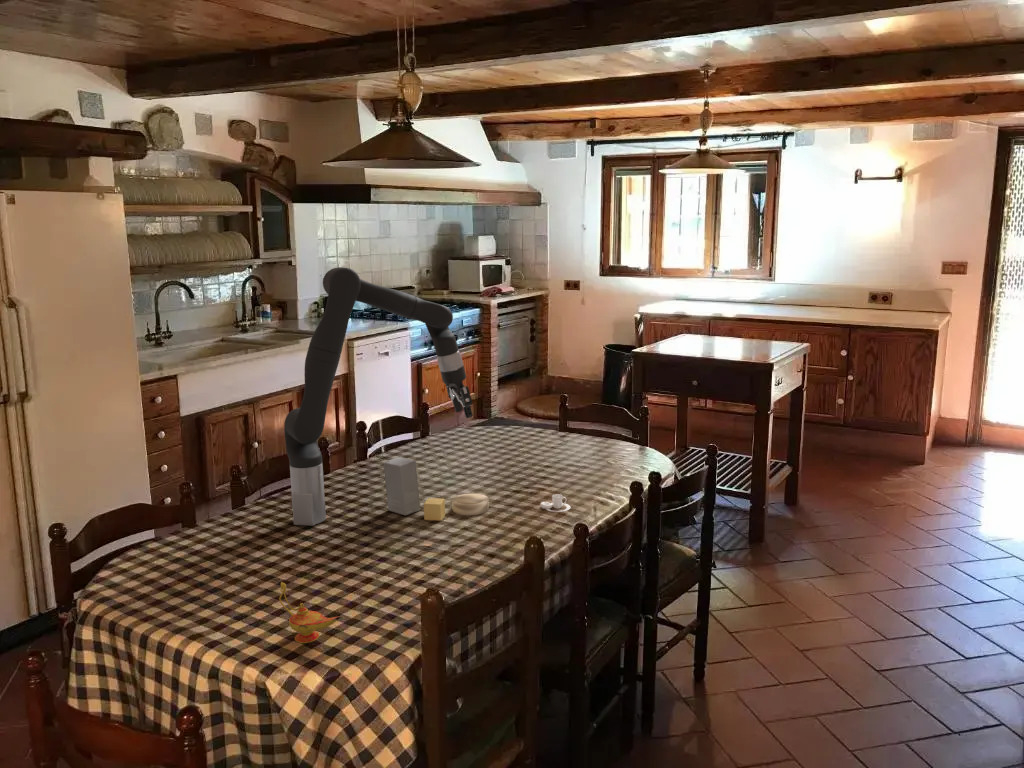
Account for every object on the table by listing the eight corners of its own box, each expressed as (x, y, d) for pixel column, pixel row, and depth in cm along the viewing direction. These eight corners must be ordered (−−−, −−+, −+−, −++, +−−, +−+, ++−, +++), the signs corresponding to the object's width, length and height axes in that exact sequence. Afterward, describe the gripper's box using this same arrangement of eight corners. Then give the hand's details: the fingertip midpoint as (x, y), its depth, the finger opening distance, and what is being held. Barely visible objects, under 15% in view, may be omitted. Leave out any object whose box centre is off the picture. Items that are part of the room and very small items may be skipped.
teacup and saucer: (537, 510, 247) (537, 497, 246) (548, 502, 254) (548, 489, 253) (563, 514, 243) (563, 501, 242) (574, 506, 250) (574, 493, 249)
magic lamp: (334, 657, 165) (330, 606, 163) (269, 635, 174) (266, 587, 172) (356, 641, 171) (353, 592, 168) (293, 622, 180) (289, 575, 177)
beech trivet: (484, 516, 242) (484, 505, 241) (448, 514, 243) (448, 504, 243) (491, 503, 252) (491, 493, 252) (457, 502, 254) (456, 492, 253)
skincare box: (421, 510, 247) (419, 460, 244) (402, 517, 242) (400, 465, 239) (403, 504, 253) (400, 455, 250) (384, 510, 248) (382, 460, 244)
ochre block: (441, 520, 239) (440, 504, 238) (424, 520, 240) (423, 503, 239) (445, 514, 244) (444, 498, 243) (428, 514, 244) (428, 498, 243)
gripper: (432, 366, 260) (445, 413, 265) (448, 374, 247) (462, 423, 252) (453, 359, 262) (466, 405, 267) (471, 366, 250) (483, 414, 255)
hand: (464, 414), depth 260 cm, fingers open, 8 cm apart
